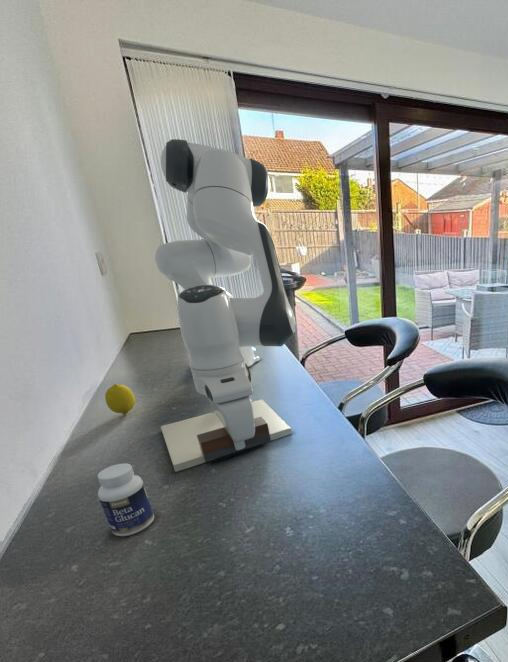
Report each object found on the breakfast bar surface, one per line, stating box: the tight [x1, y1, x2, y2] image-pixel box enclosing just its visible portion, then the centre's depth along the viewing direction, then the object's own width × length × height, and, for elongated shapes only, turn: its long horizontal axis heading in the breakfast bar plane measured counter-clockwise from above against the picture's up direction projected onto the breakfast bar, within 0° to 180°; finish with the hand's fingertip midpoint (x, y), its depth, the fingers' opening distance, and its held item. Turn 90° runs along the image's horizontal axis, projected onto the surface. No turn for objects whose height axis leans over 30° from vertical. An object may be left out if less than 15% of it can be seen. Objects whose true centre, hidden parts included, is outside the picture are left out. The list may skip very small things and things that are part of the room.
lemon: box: [104, 383, 136, 415], centre depth 96 cm, size 6×6×8 cm
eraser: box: [197, 417, 272, 463], centre depth 78 cm, size 4×12×4 cm, turn 128°
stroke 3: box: [246, 443, 264, 452], centre depth 81 cm, size 1×3×1 cm
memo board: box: [160, 398, 292, 473], centre depth 87 cm, size 20×22×2 cm
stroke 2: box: [231, 449, 248, 457], centre depth 79 cm, size 1×3×1 cm
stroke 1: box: [213, 454, 232, 463], centre depth 77 cm, size 1×3×1 cm
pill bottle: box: [97, 462, 155, 537], centre depth 59 cm, size 5×5×10 cm
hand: (236, 442), depth 78 cm, fingers closed on eraser, 4 cm apart
